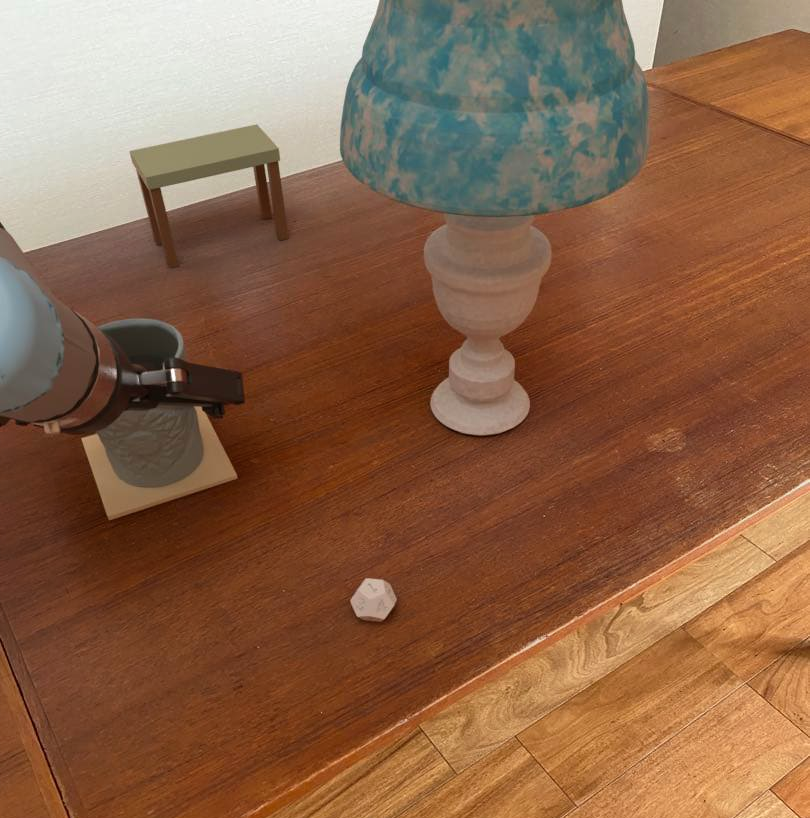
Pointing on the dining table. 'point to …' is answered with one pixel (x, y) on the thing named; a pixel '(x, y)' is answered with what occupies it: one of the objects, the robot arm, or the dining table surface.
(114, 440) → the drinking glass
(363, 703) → the dining table surface
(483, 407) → the table lamp
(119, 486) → the mat
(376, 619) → the game die
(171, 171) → the side table
